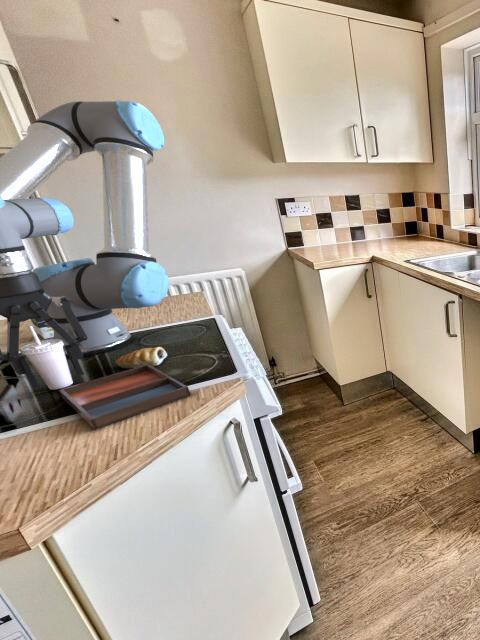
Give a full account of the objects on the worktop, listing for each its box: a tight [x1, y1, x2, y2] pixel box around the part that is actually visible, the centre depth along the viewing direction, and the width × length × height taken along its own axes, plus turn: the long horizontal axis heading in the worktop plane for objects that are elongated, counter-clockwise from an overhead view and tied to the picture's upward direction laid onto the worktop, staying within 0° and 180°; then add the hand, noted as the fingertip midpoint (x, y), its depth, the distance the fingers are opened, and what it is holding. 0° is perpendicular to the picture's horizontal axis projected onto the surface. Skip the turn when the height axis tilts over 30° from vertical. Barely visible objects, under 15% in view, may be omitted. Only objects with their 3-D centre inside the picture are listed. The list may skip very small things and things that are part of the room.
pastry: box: [114, 346, 168, 369], centre depth 102 cm, size 9×7×4 cm
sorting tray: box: [58, 364, 191, 430], centre depth 86 cm, size 22×15×2 cm
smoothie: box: [19, 324, 74, 391], centre depth 89 cm, size 6×6×14 cm
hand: (58, 379), depth 91 cm, fingers closed on smoothie, 6 cm apart
